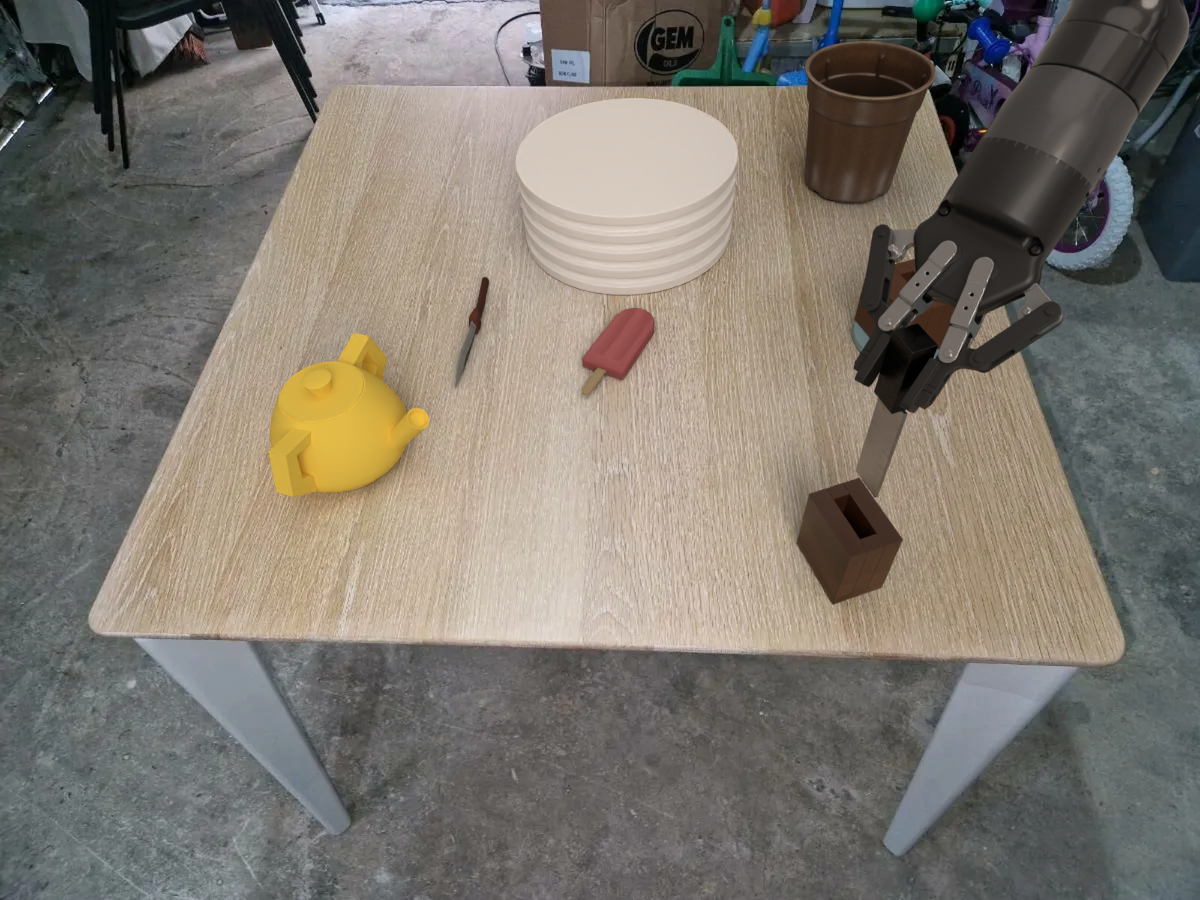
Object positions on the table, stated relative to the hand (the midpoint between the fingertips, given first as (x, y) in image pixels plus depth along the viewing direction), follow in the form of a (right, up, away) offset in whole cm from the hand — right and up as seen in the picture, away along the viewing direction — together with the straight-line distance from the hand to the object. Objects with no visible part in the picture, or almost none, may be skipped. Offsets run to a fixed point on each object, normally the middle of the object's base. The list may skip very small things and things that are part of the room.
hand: (884, 395), depth 55 cm
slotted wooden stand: (+15, +9, +38) cm, 42 cm away
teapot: (-45, -4, +31) cm, 55 cm away
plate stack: (-16, +26, +54) cm, 62 cm away
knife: (-35, +9, +42) cm, 55 cm away
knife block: (+3, -14, +19) cm, 24 cm away
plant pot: (+16, +35, +59) cm, 71 cm away
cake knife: (+2, -6, +10) cm, 12 cm away
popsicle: (-18, +7, +39) cm, 43 cm away
